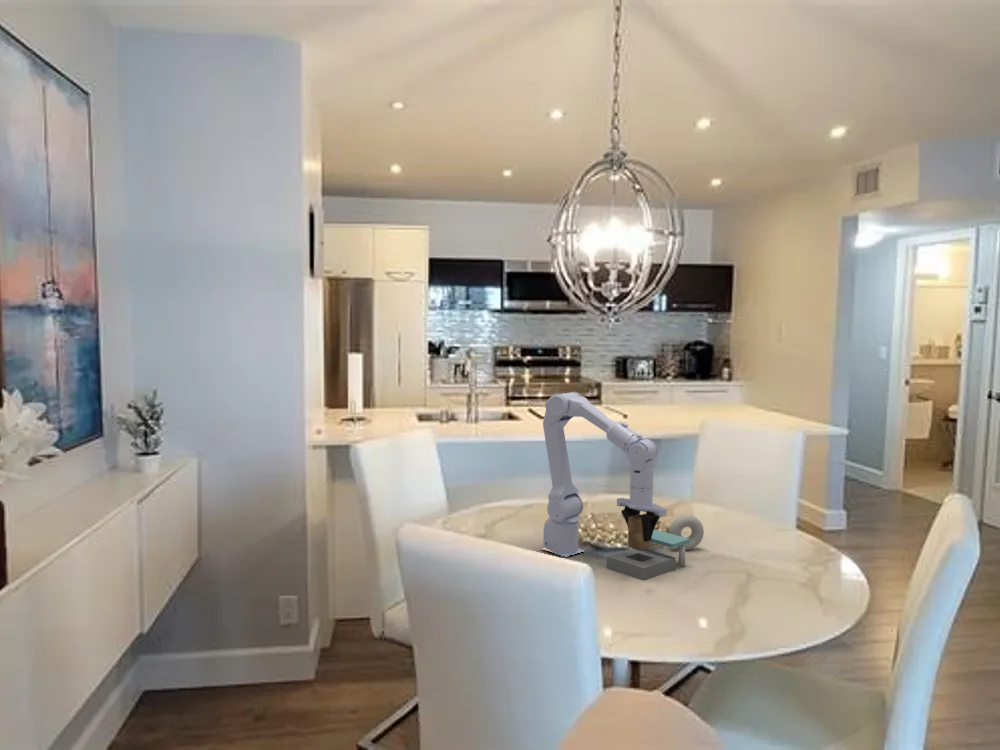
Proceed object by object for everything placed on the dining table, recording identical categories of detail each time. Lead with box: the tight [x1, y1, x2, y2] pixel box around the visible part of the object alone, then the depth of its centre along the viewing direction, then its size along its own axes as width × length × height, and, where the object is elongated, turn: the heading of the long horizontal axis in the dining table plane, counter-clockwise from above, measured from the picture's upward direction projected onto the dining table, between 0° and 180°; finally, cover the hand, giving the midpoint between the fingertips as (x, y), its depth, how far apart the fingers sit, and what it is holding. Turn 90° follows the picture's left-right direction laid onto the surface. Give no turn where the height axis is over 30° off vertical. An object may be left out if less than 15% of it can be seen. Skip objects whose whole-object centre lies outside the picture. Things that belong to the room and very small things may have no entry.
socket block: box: [605, 548, 676, 581], centre depth 193 cm, size 12×13×3 cm
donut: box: [668, 514, 705, 551], centre depth 209 cm, size 10×3×10 cm, turn 97°
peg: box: [627, 513, 652, 551], centre depth 191 cm, size 4×4×8 cm
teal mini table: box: [648, 528, 690, 568], centre depth 198 cm, size 13×8×7 cm, turn 41°
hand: (640, 538), depth 192 cm, fingers closed on peg, 4 cm apart
